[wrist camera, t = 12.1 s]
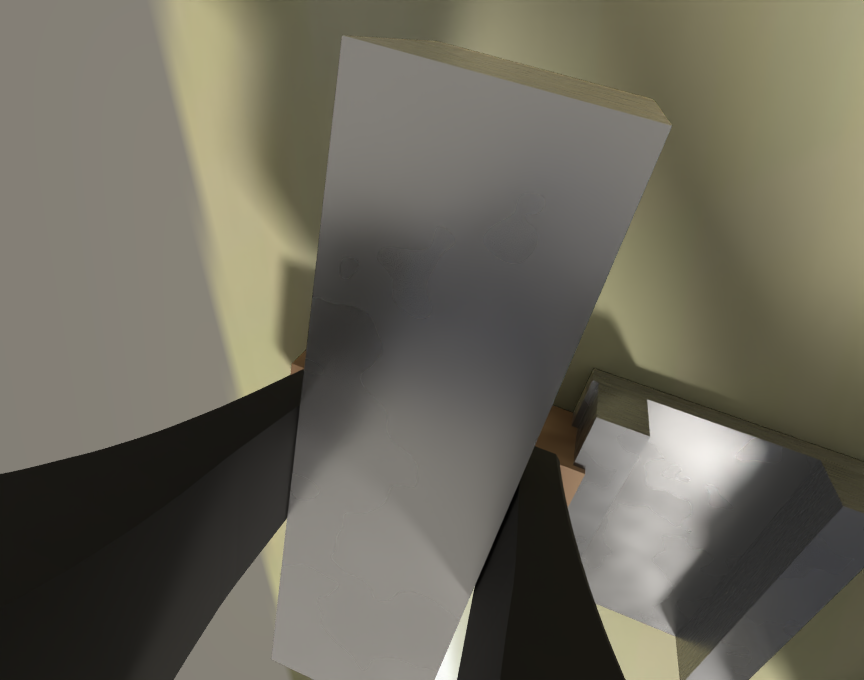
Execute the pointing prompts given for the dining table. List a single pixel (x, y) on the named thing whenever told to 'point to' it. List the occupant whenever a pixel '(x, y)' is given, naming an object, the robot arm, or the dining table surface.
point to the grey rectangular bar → (440, 333)
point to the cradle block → (709, 524)
